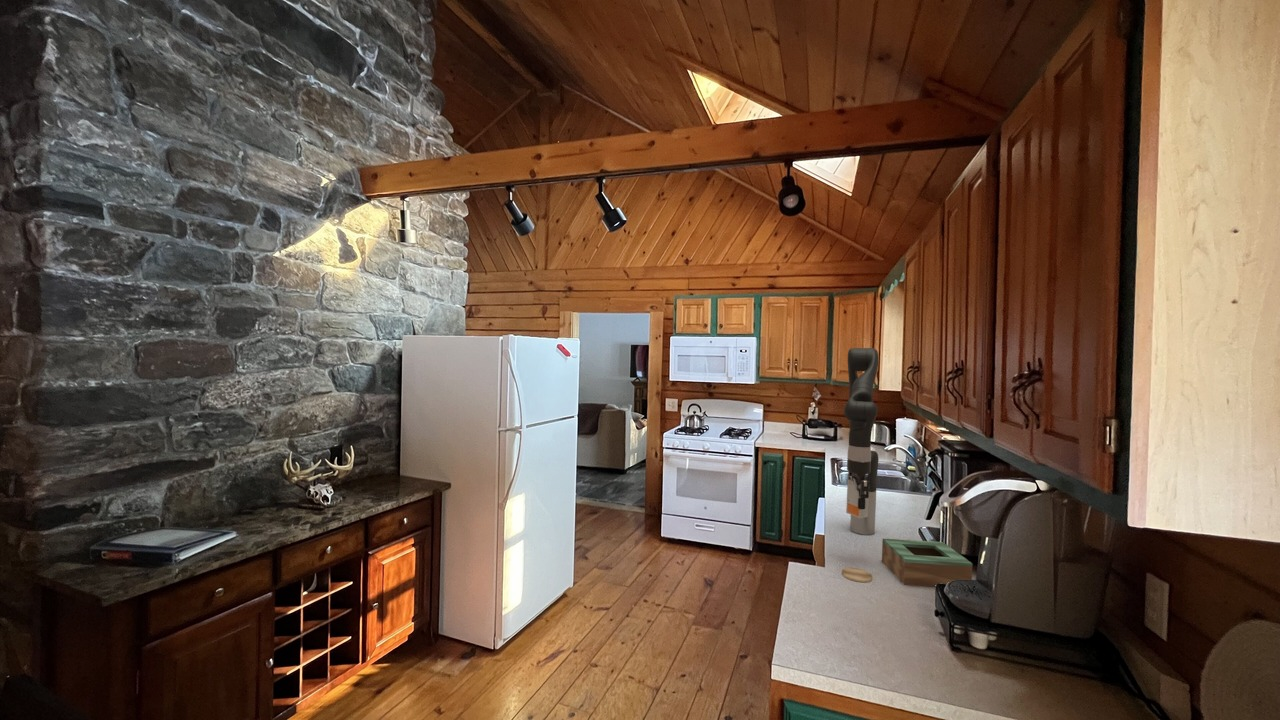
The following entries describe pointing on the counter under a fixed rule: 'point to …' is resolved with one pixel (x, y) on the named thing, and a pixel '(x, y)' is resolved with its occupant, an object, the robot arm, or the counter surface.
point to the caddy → (924, 562)
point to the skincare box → (855, 502)
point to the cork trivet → (857, 575)
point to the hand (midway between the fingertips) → (857, 505)
